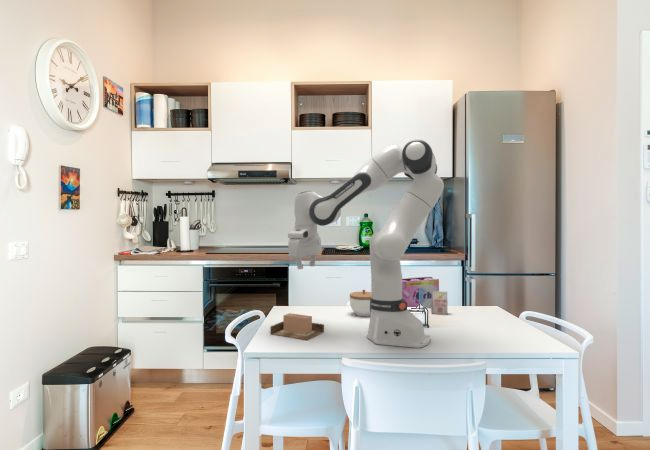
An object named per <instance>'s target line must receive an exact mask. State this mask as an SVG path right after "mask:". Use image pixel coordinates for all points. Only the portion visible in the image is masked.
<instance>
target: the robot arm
mask: <svg viewBox="0 0 650 450" xmlns="http://www.w3.org/2000/svg"><path fill="white" fill-rule="evenodd" d="M401 173H403V174H404V175H405V176H406V177H407V178H409V179H411V180H413V181H412V183H411V185H410V186H409V187H408V189H407V190H406V192H404V195H402V197H401V199H400V200H399V201H398V202H397V204H396V205H395V207H394V208H393V210H392V211H391V213H390V215H389V217H388V218H387V220H386V221H385V223H384V225H383V227H381V228H380V229H377V230H376V231H374V233H373V234H372V235H371V236H370V240H369V257H370V258H369V260H370V262H369V263H370V275H371V276H370V279H371V284H370V285H371V286H370V287H371V289H370V292H371V298H370V313H371V316H369V317H370V318H369V323H368V324H369V325H368V330H367V334H366V338H367V339H369V340H370V341H372V342H373V344H375V345H383V346H384V345H386V346H393V347H394V346H395V347H404V348H415V349H420V348H423V347H426V346H427V345H429V344H431V340H432V339H431V335H430V334H425V328H424V324H423V322H422V320H420V319H419V318H418V317H417V316H416V315H414V314H413V313H412V312H411V311H410V310H407V307H408V301H407V302H406V301H405V300H404V299H403V298H402V279H403V274H402V273H403V272H402V266H401V258H402V257H403V256H404V255H405V252H406V250H407V249H408V247H409V245H410V244H411V242H412V240H413V238H414V237H415V235H416V233H417V231H418V230H419V228H420V226H421V225H422V224H423V222H424V221H425V220H426V218H427V217H428V215H429V214H430V213H431V211H433V208H434V207H435V205H436V204H437V202H438V201H439V199H440V197H441V195H442V193H443V190H444V189H445V186H444V185H445V183H444V181H443V179H442V178H441V177H440V176H439V175H438V174H437V173H438V165H437V161H436V157H435V154H434V151H433V148H432V147H431V145H430V144H429V143H428V142H426V140H422V139H413V140H410V141H408V142H407V143H406V144H404V146H403V147H402V146H400V145H398V144H390V145H388V146H386V147H385V148H383V149H382V150H379V151H378V152H376V153H375V154H374V155H373V156H372V157H370V158H369V159H368V160H367V161H366V162H365V163H364V164H362V166H361V167H360V168H359V169H358V170H357V171H356V172H355V173H354V174H353V176H352V177H351V178H350V179H349V180H347V181H346V182H345V183H344V184H343V185H341V186H339V187H338V188H337V189H336V190H335V191H334V192H332V193H331V194H329V195H326V196H322V195H320V194H318V193H316V192H315V191H313V190H308V191H303V192H299V193H297V195H295V198H294V199H295V200H294V210H293V211H294V212H293V213H294V219H295V220H294V228H293V229H291V230H290V231H288V232H287V238H289V239H288V244H287V245H288V256H289V258H290V259H294V260H295V263H296V265H297V267H296V269H297V270H303V269H304V264H303V263H302V260H303V258H306V257H310V261H309V267H315V266H316V260H317V255H320V254H322V251H323V249H322V248H323V247H322V239H321V236H320V234H319V232H318V226H320V227H323V226H324V227H325V226H327V225H331V224H334V223H335V222H337V221H338V220H339V219H340V217H341V215H342V213H341V212H342V211H341V210H342V208H344V207H345V206H346V205H347V204H349V203H351V201H352V200H353V199H355V198H356V197H358V196H360V195H361V194H363V193H366V192H370V191H375V190H376V189H379V188H380V187H382V186H384V185H385V184H387V183H388V182H389V181H391V180H392V179H393V178H395V176H397V175H398V174H401Z"/></svg>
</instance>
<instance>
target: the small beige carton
mask: <svg viewBox="0 0 650 450" xmlns="http://www.w3.org/2000/svg"><path fill="white" fill-rule="evenodd" d="M448 303H449V302H448V291H440V290H439V291H432V295H431V307H430V308H431V309H430V312H431V315H436V316H437V315H438V316H439V315H441V316H447V315H448Z"/></svg>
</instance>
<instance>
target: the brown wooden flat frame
mask: <svg viewBox="0 0 650 450" xmlns="http://www.w3.org/2000/svg"><path fill="white" fill-rule="evenodd" d="M324 332H325V324H323V323H316V322H312V332H311V333H309V334H307V335H303V334H297V333H291V332H285V331H283V321H281V322H278V323H275V324H273V325H271V326H270V335H272V336H273V335H274V336H277V337H278V336H279V337H283V338H284V337H285V338H291V339H297V340H302V341H309V340H311V339H313V338H315V337H318V336H319V335H321V334H324Z"/></svg>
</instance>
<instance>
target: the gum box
mask: <svg viewBox="0 0 650 450" xmlns="http://www.w3.org/2000/svg"><path fill="white" fill-rule="evenodd" d="M439 282H440V279H439V278H433V277H432V276H423V277H411V278H410V277H409V278H407V277H406V278H402V298H403V299H404V300H405V301H406V302H407V301H408V307H416V308H417V307H418V306H419V304H422V305H424V306H425V307H427V308H431V295H432V291H439V292H440V283H439ZM427 308H426V309H427Z"/></svg>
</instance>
